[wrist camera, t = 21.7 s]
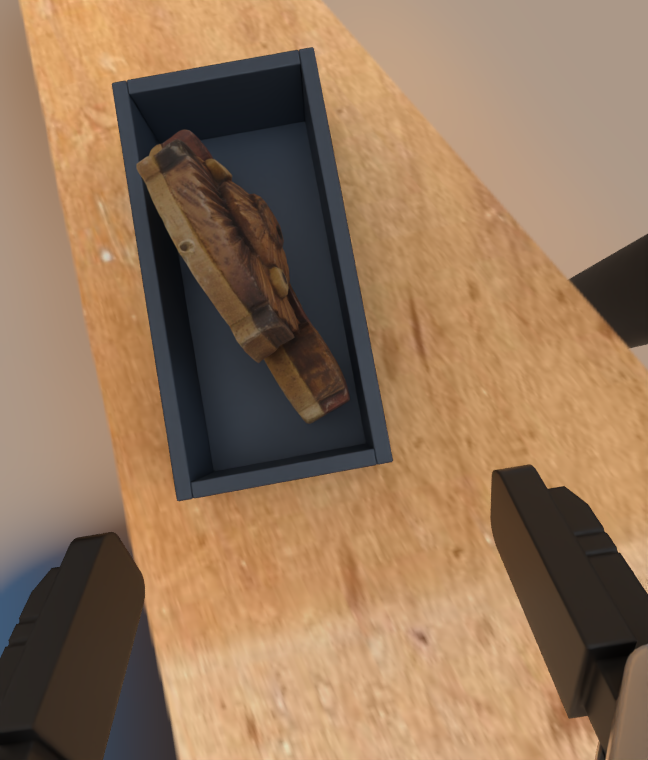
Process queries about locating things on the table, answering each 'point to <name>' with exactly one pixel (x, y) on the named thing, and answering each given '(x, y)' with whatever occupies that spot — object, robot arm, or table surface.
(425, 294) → the table surface
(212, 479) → the bin
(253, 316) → the wooden carving
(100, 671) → the robot arm
